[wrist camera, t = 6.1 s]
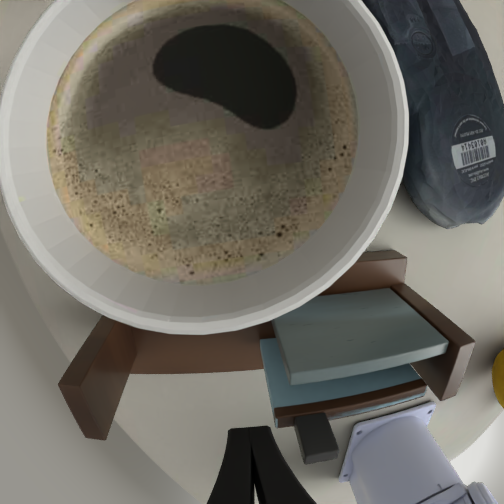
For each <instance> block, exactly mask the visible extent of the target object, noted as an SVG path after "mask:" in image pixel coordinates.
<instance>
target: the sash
mask: <svg viewBox="0 0 504 504" xmlns="http://www.w3.org/2000/svg"><path fill="white" fill-rule="evenodd" d="M260 350H261V355H262V360H263V366H264V371H265V376H266V381H267V386H268V391H269V397H270V402H271V407H272V412H273V417H274V423H275V427H276V428H284V427H291V426H294V428H295V432H296V435H297V439H298V443H299V447H300V451H301V454H302V458H303V462H304V464H311V463H317V462H322V461H327V460H332V459H336V458H337V457H338V453H339V447H338V445H337V442H336V439H335V437H334V434H333V432H332V429H331V426H330V424H329V420H334V419H339V418H344V417H349V416H353V415H358V414H362V413H366V412H370V411H375V410H378V409H382V408H386V407H390V406H393V405H397V404H400V403H404V402H407V401H411V400H414V399H417V398H420V397H423V396H424V395H425V392H426V389H427V384H426V383H425V382H424V380H423V379H422V378H421V377H420V376H419V375H418V374H417V373H416V371H415V370H414V369H413V368H412V366H411V365H410V364H409V363H408V364H404V365H400V366H396V367H392V368H388V369H383V370H379V371H374V372H369V373H365V374H360V375H354V376H349V377H344V378H338V379H332V380H326V381H320V382H313V383H306V384H299V385H290V384H289V382H288V378H287V375H286V371H285V368H284V364H283V361H282V357H281V354H280V350H279V347H278V343H277V340H276V338H270V339H260Z"/></svg>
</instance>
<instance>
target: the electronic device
mask: <svg viewBox="0 0 504 504" xmlns="http://www.w3.org/2000/svg"><path fill="white" fill-rule="evenodd" d="M361 1H362V2H363V3H364V4H365V6H366V7H367V8H368V9H369V11H370V12H371V13H372V15H373V16H374V17H375V19H376V20H377V21H378V23H379V24H380V26H381V28H382V30H383V31H384V33H385V35H386V37H387V39H388V41H389V43H390V44H391V46H392V48H393V50H394V53H395V56H396V58H397V61H398V64H399V67H400V70H401V73H402V76H403V80H404V84H405V90H406V96H407V103H408V110H409V140H408V150H407V156H406V161H405V167H404V172H403V177H402V179H403V182H404V185H405V187H406V190H407V192H408V194H409V195H410V197H411V199H412V201H413V203H415V204H416V206H417V208H418V209H419V210H420V211H421V212H422V213H423V214H424V215H425V216H426V217H427V218H429V219H430V220H431V221H432V222H434V223H435V224H437V225H439V226H441V227H444V228H446V229H449V228H454V227H457V226H459V225H461V224H465V223H479V224H483V223H484V222H486V221H487V220H488V219H489V218H490V217H491V216H492V215H493V214H494V212H495V211H496V210H497V208H498V207H499V205H500V202H501V200H502V199H503V197H504V104H503V100H502V97H501V93H500V90H499V87H498V84H497V81H496V78H495V76H494V73H493V70H492V66H491V63H490V61H489V58H488V56H487V53H486V51H485V48H484V46H483V44H482V42H481V39H480V37H479V34H478V32H477V30H476V28H475V27H474V25H473V24H472V22H471V20H470V19H469V17H468V14H467V13H466V11H465V10H464V8H463V6H462V5H461V3H460V1H459V0H361Z"/></svg>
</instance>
